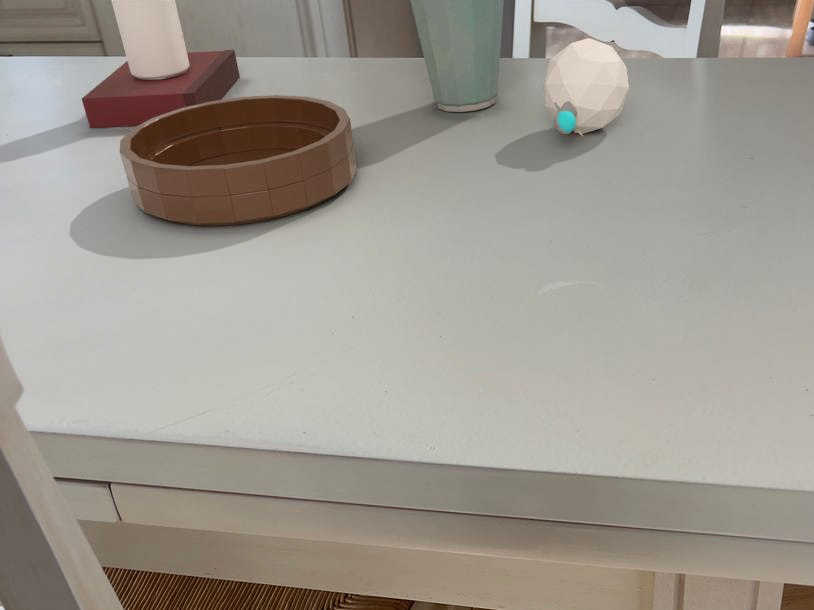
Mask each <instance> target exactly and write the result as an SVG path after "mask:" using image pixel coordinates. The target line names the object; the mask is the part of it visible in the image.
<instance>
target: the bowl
mask: <svg viewBox="0 0 814 610" xmlns="http://www.w3.org/2000/svg"><path fill="white" fill-rule="evenodd" d="M351 122H352V121H351V118H350V116H349V114H348V112H347V111H346V109H345V108H344V107H342V106H339V105H338V104H336V103H333V102H331V101H329V100H325V99H320V98H316V97H310V96H302V95H301V96H300V95H282V94H271V95H251V96H250V95H249V96H240V97H239V96H238V97H233V98H225V99H221V100H217V101H211V102H206V103H202V104H197V105H193V106H189V107H184V108H181V109H177V110H174V111H172V112H169V113H166V114H163V115H160V116H157V117H154V118H152V119H150V120H148V121H146V122H144V123H142V124H140V125H138V126H133V128H131V129H130V131H128V132H127V133H126V134H125V136H123V137H122V138H121V139H120V140H119V155H120V158H121V162H122V167H123V169H124V172H125V176H126V180H127V183H128V187H129V190H130V194H131V197H132V200H133V203H134V204H135V205H136V206H137V207H138V208H140V210H141V211H143V213H146V214H148V215H151V216H154V217H157V218H160V219H163V220H166V221H170V222H173V223H178V224H182V225H191V226H204V227H205V226H207V227H209V226H211V227H214V226H215V227H217V226H218V227H219V226H220V227H221V226H235V225H236V226H237V225H245V224H253V223H259V222H266V221H271V220H275V219H279V218H283V217H287V216H291V215H294V214H297V213H300V212H303V211H306V210H308V209H311V208H313V207H315V206H317V205H319V204H322V203H324V202H326V201H327V200H328V199H330V198H332V197H333V196H335V195H336V194H338V193H339V192H340V191H341V190H343V189H344V188H345V187H347V186H348V185H349V184H350V183H352V181H353V179H354V176H355V173H356V172H357V170H358V166H357V159H356V153H355V145H354V137H353V131H352V130H353V129H352V123H351Z"/></svg>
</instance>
